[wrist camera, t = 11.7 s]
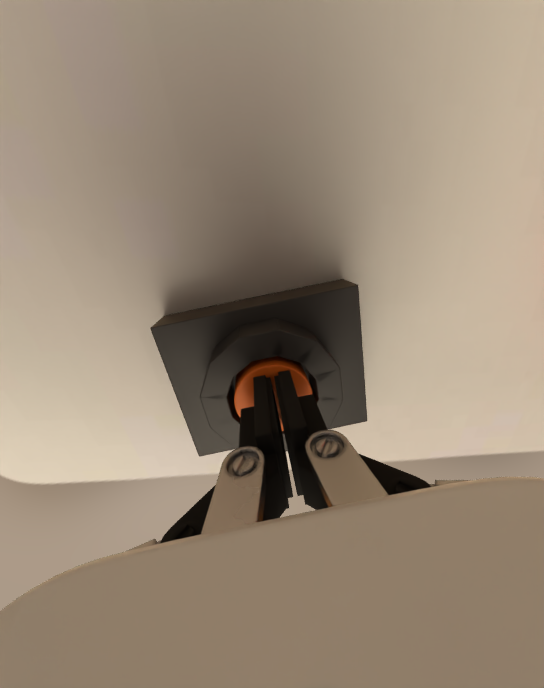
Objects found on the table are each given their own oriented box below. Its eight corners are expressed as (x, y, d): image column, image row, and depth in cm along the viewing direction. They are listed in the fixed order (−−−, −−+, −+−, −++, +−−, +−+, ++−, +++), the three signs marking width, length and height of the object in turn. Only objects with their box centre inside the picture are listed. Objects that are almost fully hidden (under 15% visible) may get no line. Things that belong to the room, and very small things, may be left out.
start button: (244, 417, 14) (244, 439, 13) (228, 358, 13) (225, 374, 11) (309, 403, 14) (317, 424, 13) (299, 343, 13) (307, 357, 11)
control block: (204, 431, 17) (192, 483, 14) (163, 315, 14) (134, 341, 11) (353, 400, 18) (382, 443, 14) (343, 278, 15) (375, 291, 11)
